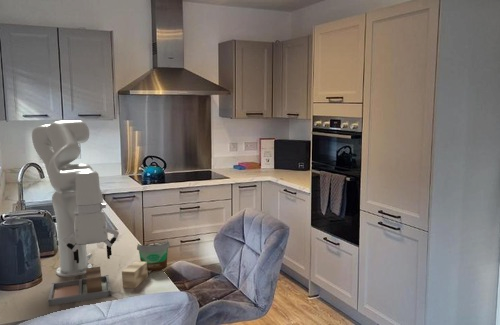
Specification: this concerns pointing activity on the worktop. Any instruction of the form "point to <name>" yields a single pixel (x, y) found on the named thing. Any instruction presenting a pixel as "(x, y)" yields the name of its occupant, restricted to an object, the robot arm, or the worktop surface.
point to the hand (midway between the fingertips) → (93, 259)
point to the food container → (154, 255)
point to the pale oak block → (134, 274)
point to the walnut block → (93, 279)
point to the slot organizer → (76, 291)
